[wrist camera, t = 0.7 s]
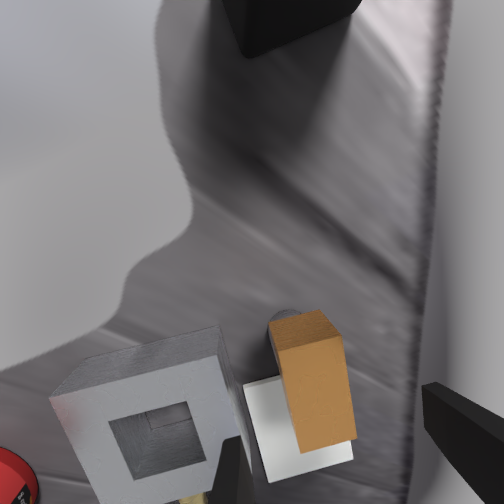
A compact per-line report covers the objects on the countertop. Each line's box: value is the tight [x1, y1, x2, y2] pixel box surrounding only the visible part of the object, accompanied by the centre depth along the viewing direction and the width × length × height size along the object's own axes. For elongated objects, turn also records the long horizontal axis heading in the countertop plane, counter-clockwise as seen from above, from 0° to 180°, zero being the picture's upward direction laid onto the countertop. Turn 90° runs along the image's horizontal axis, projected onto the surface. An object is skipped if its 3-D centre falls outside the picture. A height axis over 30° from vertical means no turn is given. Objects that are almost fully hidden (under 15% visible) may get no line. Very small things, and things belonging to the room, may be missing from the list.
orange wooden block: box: [268, 310, 357, 454], centre depth 13 cm, size 6×3×6 cm, turn 13°
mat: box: [243, 375, 353, 483], centre depth 18 cm, size 9×7×1 cm
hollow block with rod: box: [49, 325, 252, 504], centre depth 15 cm, size 14×9×3 cm, turn 13°
